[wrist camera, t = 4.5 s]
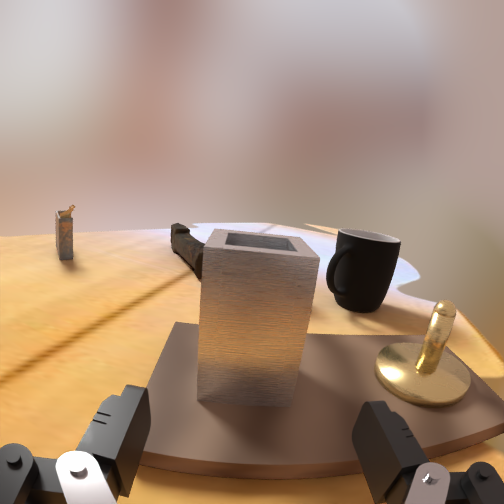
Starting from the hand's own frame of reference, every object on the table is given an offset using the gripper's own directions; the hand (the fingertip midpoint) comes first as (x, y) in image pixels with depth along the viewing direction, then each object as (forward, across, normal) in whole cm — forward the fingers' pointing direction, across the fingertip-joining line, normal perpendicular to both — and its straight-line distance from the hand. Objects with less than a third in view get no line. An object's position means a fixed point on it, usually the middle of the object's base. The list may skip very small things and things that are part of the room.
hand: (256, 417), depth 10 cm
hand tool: (+46, +11, +8) cm, 48 cm away
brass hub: (+10, -15, +6) cm, 19 cm away
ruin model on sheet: (+42, +34, +8) cm, 55 cm away
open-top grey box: (+10, 0, +6) cm, 11 cm away
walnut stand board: (+10, -8, +7) cm, 14 cm away
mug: (+30, -15, +7) cm, 34 cm away
